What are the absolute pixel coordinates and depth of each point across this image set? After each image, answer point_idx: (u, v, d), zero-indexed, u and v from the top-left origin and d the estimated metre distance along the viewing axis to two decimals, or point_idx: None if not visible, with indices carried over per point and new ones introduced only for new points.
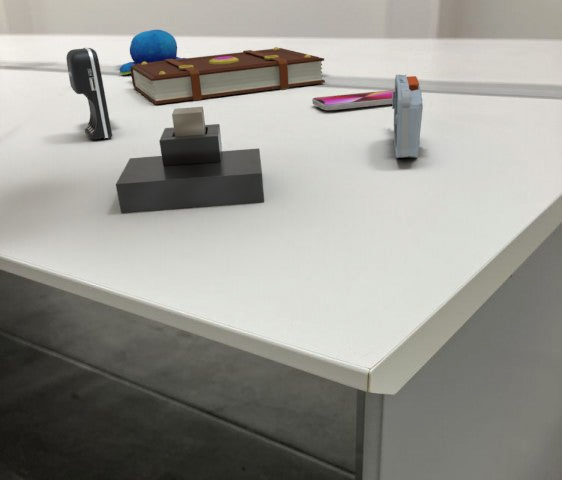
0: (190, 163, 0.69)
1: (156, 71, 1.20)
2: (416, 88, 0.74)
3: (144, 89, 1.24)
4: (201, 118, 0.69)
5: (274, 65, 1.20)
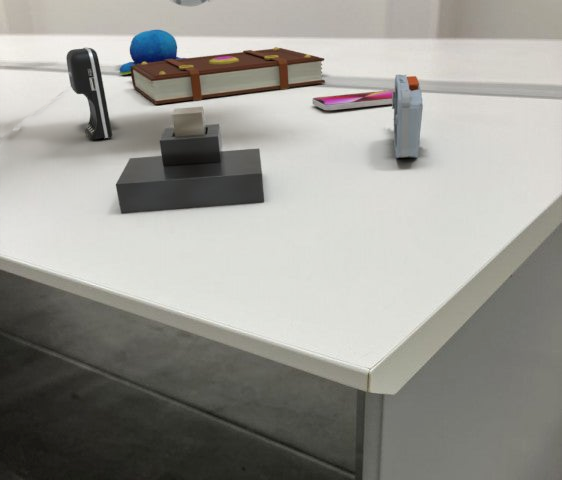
0: (190, 163, 0.69)
1: (156, 71, 1.20)
2: (416, 88, 0.74)
3: (144, 89, 1.24)
4: (201, 118, 0.69)
5: (274, 65, 1.20)
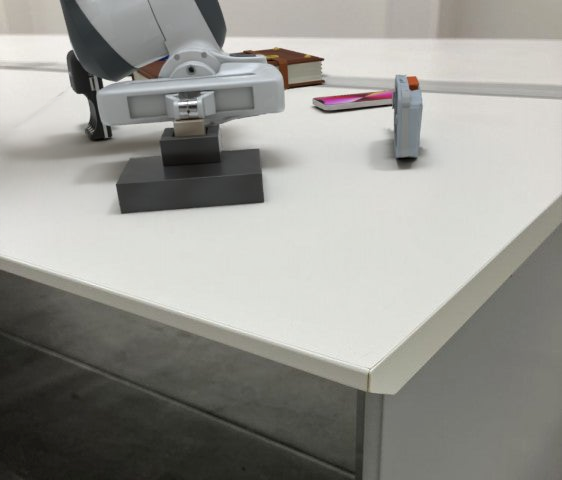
0: (190, 163, 0.69)
1: (156, 71, 1.20)
2: (416, 88, 0.74)
3: None
4: (202, 127, 0.69)
5: (274, 65, 1.20)
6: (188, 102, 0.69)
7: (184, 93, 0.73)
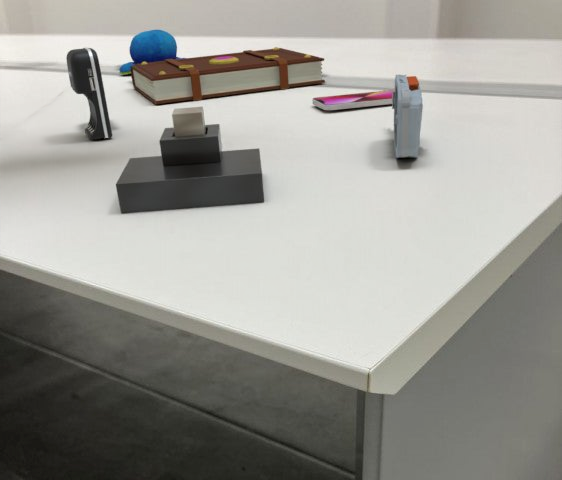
0: (190, 163, 0.69)
1: (156, 71, 1.20)
2: (416, 88, 0.74)
3: (144, 89, 1.24)
4: (201, 118, 0.69)
5: (274, 65, 1.20)
6: None
7: None
